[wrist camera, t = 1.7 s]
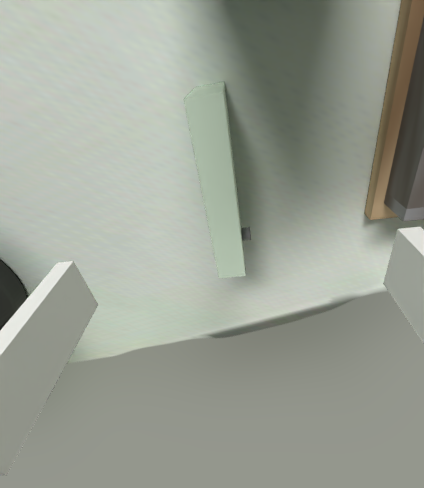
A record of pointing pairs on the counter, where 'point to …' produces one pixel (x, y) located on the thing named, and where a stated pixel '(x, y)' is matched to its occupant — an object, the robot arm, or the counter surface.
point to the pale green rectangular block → (217, 175)
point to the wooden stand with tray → (401, 126)
